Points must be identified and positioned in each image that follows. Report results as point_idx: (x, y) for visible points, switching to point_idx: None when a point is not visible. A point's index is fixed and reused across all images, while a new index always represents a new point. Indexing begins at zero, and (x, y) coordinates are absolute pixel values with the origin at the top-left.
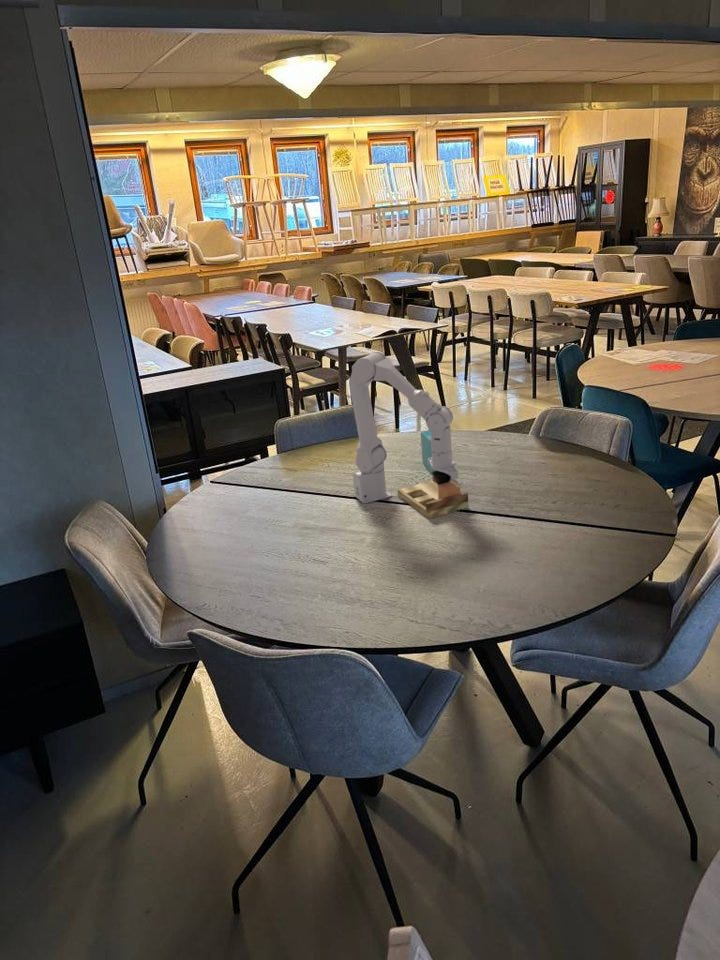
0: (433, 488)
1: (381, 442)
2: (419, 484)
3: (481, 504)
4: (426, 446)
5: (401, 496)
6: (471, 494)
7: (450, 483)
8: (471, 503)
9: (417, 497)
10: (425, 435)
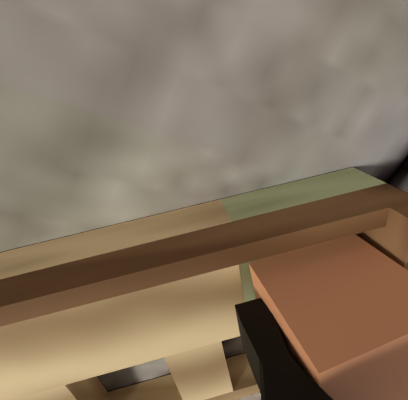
0: (69, 332)
1: None
2: None
3: (364, 66)
4: None
5: None
6: (158, 65)
7: (354, 378)
8: (310, 128)
9: (180, 394)
10: None
